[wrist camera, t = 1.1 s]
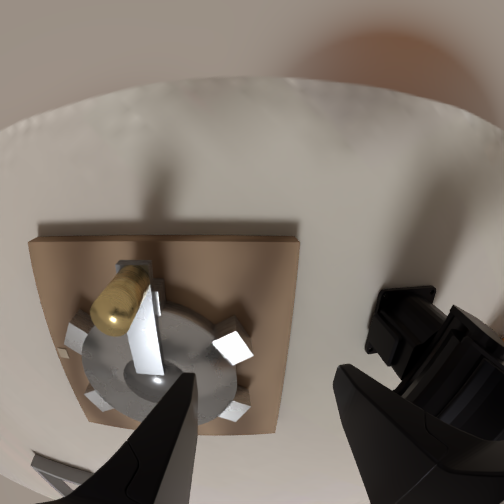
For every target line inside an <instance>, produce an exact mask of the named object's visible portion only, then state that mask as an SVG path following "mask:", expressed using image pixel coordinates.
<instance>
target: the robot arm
mask: <svg viewBox="0 0 504 504" xmlns="http://www.w3.org/2000/svg"><path fill="white" fill-rule="evenodd" d="M435 293H436V288H435V287H433V286H420V287H407V288H392V289H383V290H382V291H381V292H380V293H379V296H378V301H377V305H376V309H375V313H374V315H373V319H372V322H371V326H370V330H369V333H368V337H367V342H366V346H365V351H366V353H367V354H373V353H378V354H379V355H380V357H381V358H382V360H383V361H384V362H385V364H386V365H387V366H388V367H389V366H391V367H392V368H393V370H394V371H395V372H396V374H397V375H398V377H399V378H400V379H401V380H402V382H401V383H400V384H399V385H398V386H397V388H396V389H395V390H393V391H392V390H390V389H389V388H387V387H385V386H384V385H382V384H381V383H379V382H378V381H376V380H374V379H373V378H371V377H370V376H368V375H367V374H365V373H364V372H362V371H361V370H359V369H358V368H356V367H354V366H353V365H351V364H343V365H339V366H338V367H337V370H336V374H335V377H334V381H333V390H334V394H335V398H336V402H337V406H338V410H339V414H340V419H341V422H342V426H343V429H344V431H345V434H346V437H347V439H348V442H349V445H350V447H351V450H352V453H353V456H354V458H355V461H356V464H357V467H358V469H359V472H360V475H361V478H362V480H363V483H364V486H365V489H366V492H367V494H368V497H369V500H370V503H371V504H504V341H503V340H502V339H501V338H500V337H499V336H498V335H497V334H496V333H495V331H493V330H492V329H491V328H490V327H488V326H487V325H486V324H484V323H483V322H482V321H480V320H479V319H478V318H476V317H474V316H473V315H471V314H469V313H467V312H466V311H464V310H462V309H460V308H459V307H457V306H455V305H453V306H452V307H451V309H450V313H449V314H448V316H446V315H445V314H444V313H443V312H442V311H440V310H439V309H438V308H437V307H436V306H434V305H433V304H432V303H433V300H434V297H435ZM385 294H386V296H385V297H384V295H385ZM370 348H371V349H370ZM197 436H198V387H197V379H196V374H195V373H193V372H183V373H182V374H181V375H180V376H179V377H178V379H177V380H176V381H175V382H174V384H173V385H172V386H171V387H170V388H169V390H168V391H167V392H166V393H165V395H164V396H163V397H162V398H161V399H160V401H159V402H158V403H157V404H156V406H155V407H154V408H153V409H152V410H151V412H150V413H149V414H148V415H147V416H146V418H145V419H144V420H143V421H142V422H141V424H140V425H139V426H138V427H137V428H136V430H135V431H134V432H133V433H132V434H131V436H130V437H129V438H128V439H127V441H125V443H124V444H123V445H122V446H121V447H120V449H119V450H118V451H117V452H116V453H115V454H114V455H113V456H112V457H111V458H110V459H109V460H108V461H107V462H106V463H105V464H104V465H103V466H102V467H101V468H100V469H99V470H98V471H96V472H95V473H94V474H93V475H92V476H91V477H89V478H88V479H87V480H86V481H85V482H83V483H82V484H81V485H80V486H79V487H77V488H76V489H75V490H74V491H73V492H71V493H70V494H68V495H67V496H65V497H63V498H60V499H58V500H54V501H49V502H43V503H37V504H189V498H190V490H191V482H192V474H193V467H194V459H195V452H196V445H197Z"/></svg>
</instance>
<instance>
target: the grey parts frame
mask: <svg viewBox="0 0 504 504" xmlns="http://www.w3.org/2000/svg"><path fill="white" fill-rule="evenodd" d="M31 466H32V467H33V469H34V470H35V471H36V472H37V473H38V474H39V475H40V476H41V477H42V478H43V479H44V480H46V481H47V482H48V483H49V484H50V485H51V486H52V487H53V488H54V489H55V490H56V491H57V492H59V493H60V494H61V495H62V496H63V497H65V496H67V495H68V494H70V493H71V492H73V490H71V489H70V488H69V487H68V486H67V485H66V484H65V483H64V482H63V481H62V480H64V481H67V482H70V483H73V484H76V485H79V486H80V485H81V484H82V483H83V482H85V481H86V480H87V479H88V478H89V477H91V476H92V475H93V473H89V472H86V471H82V470H79V469H75V468H72V467H69V466H66V465H63V464H60V463H57V462H54V461H52V460H49V459H46V458H44V457H41V456H39V455H36V454H35V456H34V458H33V460H32V463H31ZM61 479H62V480H61Z"/></svg>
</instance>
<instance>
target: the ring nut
mask: <svg viewBox="0 0 504 504" xmlns="http://www.w3.org/2000/svg"><path fill="white" fill-rule="evenodd" d="M115 267H116V276H115V277H114V278H113V279H112V280H111V282H110V283H109V284H108V285H107V286H106V288H105V289H104V290H103V291H102V293H101V294H100V295H99V296H98V298H97V299H96V300H95V301H94V303H93V304H92V306H91V309H90V315H89V314H87V313H86V312H84V311H83V310H81V309H79V311H78V312H77V313H76V314H75V316H74V317H73V318H72V319H71V321H70V322H69V325H68V329H67V333H66V337H65V341H64V345H66V346H67V347H69V348H71V349H72V350H74V351H75V352H77V353H79V354H80V355H82V364H83V368H84V371H85V374H86V376H87V378H88V381H89V384H88V386H87V389H86V391H85V393H84V395H85V396H86V397H87V398H88V399H89V400H90V401H91V402H92V403H94V404H95V405H96V406H97V407H98V408H99V409H100V410H101V411H102V412H104V411H107V410H111V409H116V410H117V411H119V412H121V413H122V414H124V415H126V416H128V417H130V418H132V419H134V420H137V421H139V422H142V421H143V420H144V419H145V418H146V416H147V415H148V414H149V413H150V412H151V410H152V409H153V408H154V407H155V406H156V404H157V403H158V402H159V401H160V399H161V398H162V397H163V396H164V395H165V393H166V392H167V391H168V390H169V388H170V387H171V386H172V385H173V384H174V382H175V381H176V380H177V379H178V377H179V376H180V375H181V374H182V373H183V372H193V373H195V374H196V379H197V387H198V425H201V424H204V423H207V422H209V421H211V420H213V419H215V418H217V417H221V418H224V419H228V420H231V421H234V422H236V421H237V420H238V419H239V418H240V417H241V416H242V415H243V414H244V413H245V412H246V411H247V410H248V409H249V408H250V407H251V403H250V395H249V389H246V388H243V387H241V386H238V385H237V375H236V364H237V363H239V362H241V361H244V360H246V359H248V358H250V357H252V356H254V354H253V347H252V341H251V338H250V337H249V335H248V334H247V332H246V331H245V329H244V328H243V326H242V325H241V323H240V322H239V320H238V319H237V317H236V316H235V315H234V316H232V317H230V318H228V319H226V320H224V321H222V322H220V323H218V324H215V325H214V324H213V323H212V322H211V321H209V320H208V319H207V318H205V317H204V316H203V315H201V314H199V313H197V312H196V311H194V310H192V309H190V308H188V307H185V306H183V305H180V304H177V303H174V302H171V301H166V294H165V284H164V279H162V278H153V270H152V260H119V261H118V262H117V263H116V264H115Z"/></svg>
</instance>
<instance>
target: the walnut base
mask: <svg viewBox="0 0 504 504" xmlns="http://www.w3.org/2000/svg"><path fill="white" fill-rule="evenodd" d="M28 246H29V252H30V258H31V263H32V268H33V273H34V277H35V282H36V286H37V290H38V294H39V298H40V301H41V305H42V309H43V312H44V315H45V319H46V322H47V325H48V328H49V331H50V334H51V337H52V340H53V343H54V345H55V348H56V351H57V354H58V356H59V359H60V361H61V364H62V366H63V369H64V371H65V373H66V376H67V378H68V380H69V382H70V385H71V387H72V389H73V391H74V393H75V395H76V397H77V400H78V402H79V404H80V406H81V408H82V409H83V411H84V413H85V415H86V417H87V419H88V421H89V422H93V423H98V424H103V425H109V426H114V427H120V428H126V429H133V430H136V428H137V427H138V426H139V425H140V424H141V422H139V421H137V420H134V419H132V418H130V417H128V416H126V415H124V414H122V413H121V412H119V411H117V410H116V409H111V410H107V411H104V412H102V411H101V410H100V409H99V408H98V407H97V406H96V405H95V404H94V403H92V402H91V401H90V400H89V399H88V398H87V397H86V396H85V395H84V393H85V391H86V389H87V386H88V384H89V381H88V378H87V376H86V374H85V371H84V368H83V364H82V355H80V354H79V353H77V352H75V351H74V350H72V349H71V348H69V347H67V346H66V345H64V341H65V337H66V333H67V329H68V325H69V322H70V321H71V319H72V318H73V317H74V316H75V314H76V313H77V312H78V311H79V309H81V310H83V311H84V312H86V313H87V314H89V315H90V309H91V306H92V304H93V303H94V301H95V300H96V299H97V298H98V296H99V295H100V294H101V293H102V291H103V290H104V289H105V288H106V286H107V285H108V284H109V283H110V282H111V280H112V279H113V278H114V277H115V276H116V267H115V264H116V263H117V262H118V261H119V260H152V270H153V278H162V279H164V284H165V294H166V301H171V302H174V303H177V304H180V305H183V306H185V307H188V308H190V309H192V310H194V311H196V312H197V313H199V314H201V315H203V316H204V317H205V318H207V319H208V320H209V321H211V322H212V323H213V324H214V325H215V324H218V323H220V322H222V321H224V320H226V319H228V318H230V317H232V316H234V315H235V316H236V317H237V319H238V320H239V322H240V323H241V325H242V326H243V328H244V329H245V331H246V332H247V334H248V335H249V337H250V338H251V341H252V347H253V354H254V356H252V357H250V358H248V359H246V360H244V361H241V362H239V363H237V364H236V375H237V385H238V386H241V387H243V388H246V389H249V395H250V403H251V407H250V408H249V409H248V410H247V411H246V412H245V413H244V414H243V415H242V416H241V417H240V418H239V419H238V420H237V421H236V422H234V421H231V420H228V419H224V418H221V417H217V418H215V419H213V420H211V421H209V422H207V423H204V424H201V425H198V435H254V434H269V433H275V430H276V425H277V419H278V413H279V407H280V401H281V395H282V388H283V382H284V375H285V368H286V361H287V354H288V347H289V339H290V331H291V323H292V315H293V307H294V298H295V289H296V280H297V270H298V260H299V249H300V242H299V241H298V240H297V238H296V237H295V236H240V235H110V236H49V237H37V238H35V239H33V240H31V241H29V242H28Z"/></svg>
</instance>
